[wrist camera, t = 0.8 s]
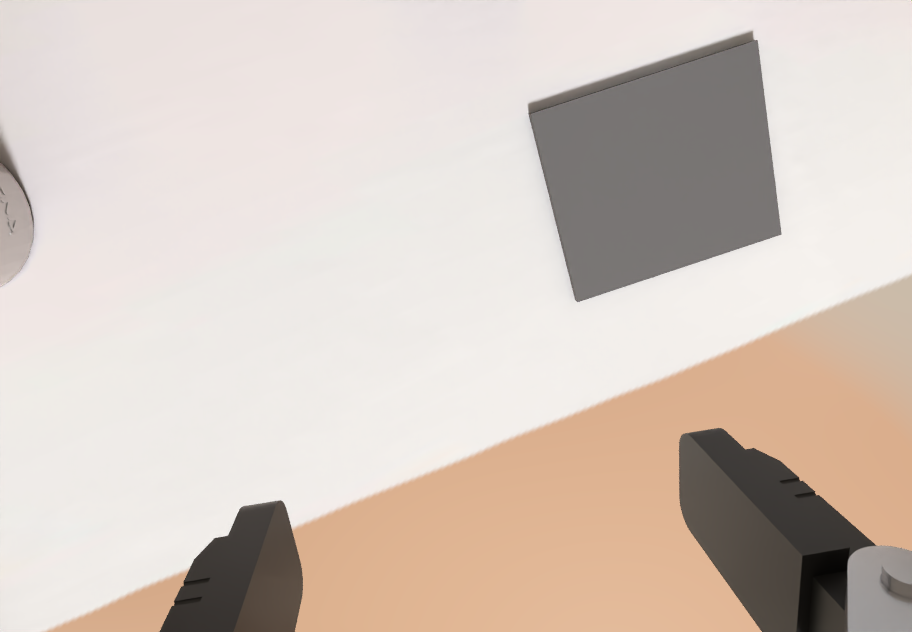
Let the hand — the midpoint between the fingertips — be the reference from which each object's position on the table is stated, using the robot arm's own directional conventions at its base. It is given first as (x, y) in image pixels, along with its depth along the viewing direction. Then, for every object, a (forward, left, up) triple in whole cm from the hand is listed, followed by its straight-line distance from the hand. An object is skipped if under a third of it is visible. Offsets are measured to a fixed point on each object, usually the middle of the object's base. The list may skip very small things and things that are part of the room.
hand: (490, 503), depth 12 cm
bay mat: (+16, 0, -25) cm, 30 cm away
